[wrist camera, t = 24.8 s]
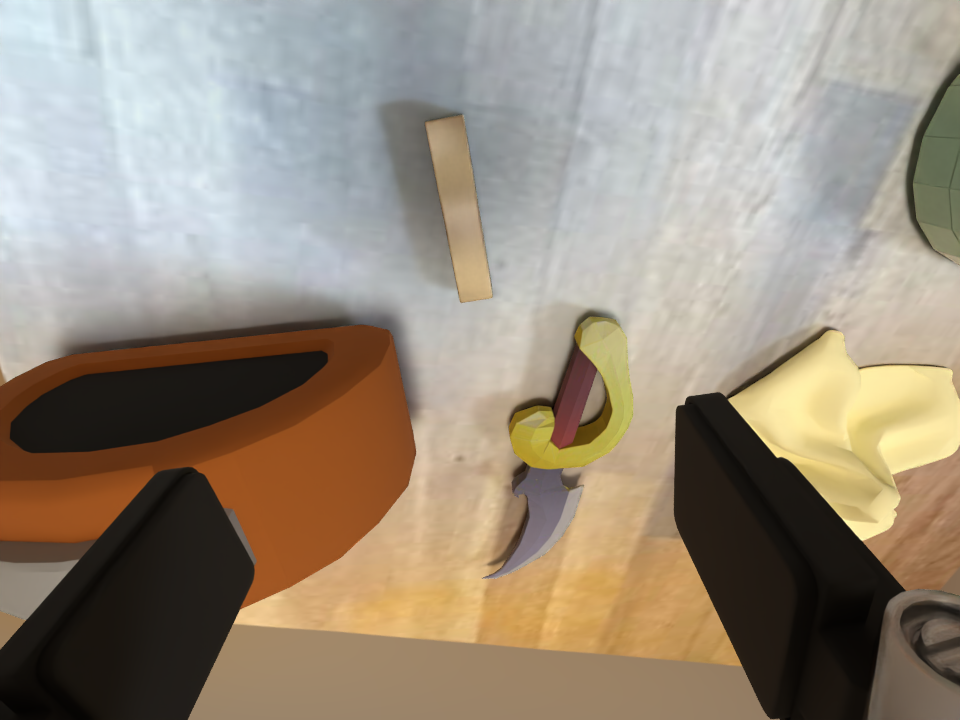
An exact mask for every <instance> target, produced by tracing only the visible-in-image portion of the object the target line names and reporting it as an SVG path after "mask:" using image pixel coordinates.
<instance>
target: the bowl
mask: <svg viewBox="0 0 960 720" xmlns="http://www.w3.org/2000/svg"><path fill="white" fill-rule="evenodd" d="M913 191H914V200H915V210H916V219H917V222H918V223H919V225H920V227H921V228H922V230H923V232H924V233H925V235H926V237H927V238H928V240H929V242H930V244H931V245H932V247H933V248H934V250H936V251H937V252H939V253H940V254H942V255H944V256H945V257H947V258H948V259H950V260H951V261H953V262H955V263H956V264H958V265H959V266H960V74H959V75H958V76H957V77H956V78H955V80H954V81H953V82H952V83H951V85H950V86H949V87H948V89H947V91H946V93H945V95H944V97H943V99H942V100H941V102H940V104H939V106H938V108H937V110H936V112H935V114H934V116H933V118H932V120H931V122H930V124H929V126H928V128H927V130H926V131H925V133H924V137H923V139H922V144H921V148H920V152H919V157H918V161H917V166H916V170H915V174H914V179H913Z"/></svg>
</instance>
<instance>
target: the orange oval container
mask: <svg viewBox="0 0 960 720" xmlns="http://www.w3.org/2000/svg"><path fill="white" fill-rule="evenodd" d="M415 456H416V448H415V441H414V435H413V430H412V425H411V421H410V416H409V411H408V406H407V402H406V397H405V392H404V387H403V383H402V378H401V373H400V368H399V364H398V359H397V354H396V349H395V345H394V340H393V336H392V334H391V333H390V331H389V330H387V329H382V328H378V327H374V326H369V325H353V326H349V325H348V326H339V327H334V328H324V329H314V330H305V331H295V332H285V333H276V334H266V335H256V336H247V337H237V338H227V339H218V340H208V341H198V342H188V343H179V344H169V345H159V346H150V347H140V348H130V349H116V350H111V351H101V352H92V353H82V354H72V355H69V356H65V357H62V358H59V359H55V360H52V361H48V362H45V363H43V364H41V365H39V366H37V367H35V368H33V369H31V370H29V371H27V372H25V373H23V374H21V375H19V376H17V377H15V378H13V379H12V380H10V381H8V382H7V383H5V384H4V385H2V386H0V611H2V612H5V613H8V614H10V615H13V616H15V617H18V618H21V619H25V620H27V619H28V618H29V617H30V615H31V614H32V613H33V612H34V611H35V610H36V609H37V607H38V606H39V605H40V604H41V603H42V602H43V601H44V600H45V598H46V597H47V596H48V595H49V594H50V593H51V592H52V590H53V589H54V588H55V587H56V586H57V585H58V584H59V582H60V581H61V580H62V579H63V578H64V577H65V576H66V575H67V573H68V572H69V571H70V570H71V569H72V568H73V567H74V565H75V564H76V563H77V562H78V561H79V560H80V559H81V558H82V556H83V555H84V554H85V553H86V552H87V551H88V550H89V548H90V547H91V546H92V545H93V544H94V543H95V542H96V541H97V539H98V538H99V537H100V536H101V535H102V534H103V533H104V531H105V530H106V529H107V528H108V527H109V526H110V525H111V523H112V522H113V521H114V520H115V519H116V518H117V517H118V516H119V514H120V513H121V512H122V511H123V510H124V509H125V508H126V506H127V505H128V504H129V503H130V502H131V501H132V500H133V499H134V497H135V496H136V495H137V494H138V493H139V492H140V491H141V489H142V488H143V487H144V486H145V485H146V484H147V483H148V481H149V480H150V479H151V478H152V477H153V476H154V475H155V474H156V473H157V472H159V471H162V470H168V469H175V468H182V467H193V468H194V469H196V470H197V471H198V472H199V473H202V474H204V475H205V476H206V478H207V479H208V481H209V483H210V485H211V487H212V488H213V490H214V492H215V494H216V496H217V498H218V499H219V501H220V503H221V505H222V507H223V509H224V510H225V512H226V514H227V516H228V518H229V520H230V521H231V523H232V525H233V527H234V529H235V531H236V532H237V534H238V536H239V538H240V540H241V541H242V543H243V545H244V547H245V549H246V551H247V552H248V554H249V556H250V558H251V560H252V562H253V564H254V569H255V575H254V580H253V583H252V585H251V587H250V589H249V591H248V593H247V595H246V598H245V600H244V602H243V604H242V606H241V608H240V609H242V608H244V607H247V606H249V605H251V604H253V603H256V602H258V601H260V600H262V599H265V598H267V597H269V596H271V595H273V594H276V593H278V592H280V591H282V590H285V589H287V588H289V587H291V586H293V585H295V584H296V583H298V582H300V581H301V580H303V579H305V578H307V577H308V576H310V575H312V574H314V573H315V572H317V571H319V570H320V569H322V568H324V567H326V566H327V565H329V564H331V563H332V562H334V561H336V560H338V559H339V558H341V557H342V556H343V555H344V554H345V553H346V552H347V551H348V550H350V549H351V548H352V547H353V546H354V545H355V544H356V543H357V542H358V541H359V540H361V539H362V538H363V537H364V536H365V535H366V534H367V533H368V532H369V531H370V530H371V529H373V528H374V527H375V526H376V525H377V524H378V523H379V522H380V521H381V519H382V518H383V517H384V516H385V514H386V513H387V512H388V511H389V509H390V508H391V507H392V505H393V504H394V503H395V502H396V500H397V499H398V498H399V497H400V495H401V494H402V493H403V492H404V490H405V489H406V488H407V486H408V484H409V480H410V476H411V472H412V468H413V464H414V460H415Z"/></svg>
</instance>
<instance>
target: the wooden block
mask: <svg viewBox="0 0 960 720" xmlns="http://www.w3.org/2000/svg"><path fill="white" fill-rule="evenodd" d="M425 128H426V133H427V138H428V143H429V148H430V153H431V158H432V163H433V168H434V173H435V178H436V183H437V188H438V193H439V198H440V204H441V209H442V214H443V219H444V224H445V229H446V234H447V239H448V244H449V249H450V254H451V259H452V264H453V269H454V274H455V279H456V284H457V289H458V294H459V299H460V302H461V303H464V302H470V301H476V300H482V299H489V298H492V297H493V295H492V284H491V278H490V272H489V266H488V260H487V254H486V248H485V242H484V235H483V229H482V223H481V217H480V211H479V205H478V199H477V193H476V187H475V181H474V174H473V168H472V162H471V156H470V150H469V144H468V138H467V132H466V126H465V119H464V115H462V114H461V115H456V116H451V117H446V118H440V119H435V120H430V121H426V122H425Z"/></svg>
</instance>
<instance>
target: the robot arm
mask: <svg viewBox="0 0 960 720" xmlns="http://www.w3.org/2000/svg"><path fill="white" fill-rule="evenodd" d="M674 517H675V522H676V525H677V528H678V531H679V533H680V535H681V537H682V539H683V542H684V544H685V546H686V548H687V550H688V552H689V554H690V556H691V558H692V561H693V563H694V565H695V567H696V569H697V571H698V573H699V575H700V577H701V580H702V582H703V584H704V586H705V588H706V590H707V592H708V594H709V596H710V599H711V601H712V603H713V605H714V607H715V609H716V611H717V613H718V615H719V618H720V620H721V622H722V624H723V626H724V628H725V630H726V632H727V635H728V637H729V639H730V641H731V643H732V645H733V647H734V649H735V651H736V654H737V656H738V658H739V660H740V662H741V664H742V666H743V668H744V670H745V672H746V675H747V677H748V679H749V681H750V683H751V685H752V687H753V689H754V692H755V693H756V696H757V698H758V700H759V702H760V704H761V706H762V708H763V710H764V711H765V713H766V714H767V716H768V717H769V718H770V719H778V718H779V719H780V720H960V596H959V595H955V594H951V593H947V592H944V591H938V590H925V589H917V590H911V591H905V589H904V588H903V587H902V586H901V585H900V584H899V583H898V582H897V580H896V579H895V578H894V577H893V576H892V575H891V574H890V572H889V571H888V570H887V569H886V568H885V567H884V566H883V565H882V563H881V562H880V561H879V560H878V559H877V558H876V557H875V556H874V554H873V553H872V552H871V551H870V550H869V549H868V548H867V547H866V545H865V544H864V543H863V542H862V541H861V540H860V539H859V537H858V536H857V535H856V534H855V533H854V532H853V531H852V530H851V528H850V527H849V526H848V525H847V524H846V523H845V522H844V521H843V519H842V518H841V517H840V516H839V515H838V514H837V513H836V511H835V510H834V509H833V508H832V507H831V506H830V505H829V504H828V502H827V501H826V500H825V499H824V498H823V497H822V496H821V495H820V493H819V492H818V491H817V490H816V489H815V488H814V487H813V485H812V484H811V483H810V482H809V481H808V480H807V479H806V478H805V476H804V475H803V474H802V473H801V472H800V471H799V470H798V469H797V467H796V466H795V465H794V464H793V463H791V462H790V461H789V460H788V459H785V458H783V457H778V458H777V457H776V456H775V455H774V454H773V452H772V451H771V450H770V449H769V448H768V447H767V445H766V444H765V443H764V442H763V441H762V440H761V438H760V437H759V436H758V435H757V434H756V433H755V431H754V430H753V429H752V428H751V427H750V426H749V424H748V423H747V422H746V421H745V420H744V418H743V417H742V416H741V415H740V414H739V413H738V411H737V410H736V409H735V408H734V407H733V406H732V404H731V403H730V402H729V401H728V400H727V399H726V397H725V396H724V395H723V394H721V393H718V392H717V393H710V394H703V395H696V396H689V397H687V398H686V401H685V405H680V406H678V407H677V409H676V430H675V478H674ZM254 575H255V569H254V564H253V562H252V560H251V558H250V556H249V554H248V552H247V551H246V549H245V547H244V545H243V543H242V541H241V540H240V538H239V536H238V534H237V532H236V531H235V529H234V527H233V525H232V523H231V521H230V520H229V518H228V516H227V514H226V512H225V510H224V509H223V507H222V505H221V503H220V501H219V499H218V498H217V496H216V494H215V492H214V490H213V488H212V487H211V485H210V483H209V481H208V479H207V478H206V476H205V475H204V474H202V473H199V472H198V471H197V470H196V469H194V468H193V467H182V468H175V469H168V470H162V471H159V472H157V473H156V474H155V475H154V476H153V477H152V478H151V479H150V480H149V481H148V483H147V484H146V485H145V486H144V487H143V488H142V489H141V491H140V492H139V493H138V494H137V495H136V496H135V497H134V499H133V500H132V501H131V502H130V503H129V504H128V505H127V506H126V508H125V509H124V510H123V511H122V512H121V513H120V514H119V516H118V517H117V518H116V519H115V520H114V521H113V522H112V523H111V525H110V526H109V527H108V528H107V529H106V530H105V531H104V533H103V534H102V535H101V536H100V537H99V538H98V539H97V541H96V542H95V543H94V544H93V545H92V546H91V547H90V548H89V550H88V551H87V552H86V553H85V554H84V555H83V556H82V558H81V559H80V560H79V561H78V562H77V563H76V564H75V565H74V567H73V568H72V569H71V570H70V571H69V572H68V573H67V575H66V576H65V577H64V578H63V579H62V580H61V581H60V582H59V584H58V585H57V586H56V587H55V588H54V589H53V590H52V592H51V593H50V594H49V595H48V596H47V597H46V598H45V600H44V601H43V602H42V603H41V604H40V605H39V606H38V607H37V609H36V610H35V611H34V612H33V613H32V614H31V615H30V617H29V618H28V619H27V620H26V621H25V622H24V623H23V625H22V626H21V627H20V628H19V629H18V630H17V631H16V633H15V634H14V635H13V636H12V637H11V638H10V639H9V640H8V642H7V643H6V644H5V645H4V646H3V647H2V649H1V650H0V720H188V718H189V716H190V714H191V711H192V709H193V707H194V705H195V703H196V701H197V699H198V697H199V694H200V692H201V690H202V688H203V686H204V684H205V682H206V680H207V677H208V676H209V673H210V671H211V669H212V667H213V665H214V663H215V661H216V659H217V657H218V654H219V652H220V650H221V648H222V646H223V644H224V642H225V640H226V637H227V635H228V633H229V631H230V629H231V627H232V625H233V623H234V621H235V619H236V617H237V614H238V612H239V610H240V608H241V606H242V604H243V602H244V600H245V598H246V595H247V593H248V591H249V589H250V587H251V585H252V583H253V580H254Z"/></svg>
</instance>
